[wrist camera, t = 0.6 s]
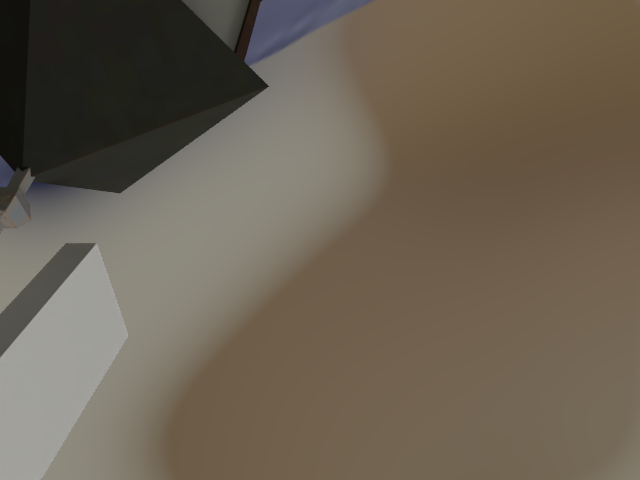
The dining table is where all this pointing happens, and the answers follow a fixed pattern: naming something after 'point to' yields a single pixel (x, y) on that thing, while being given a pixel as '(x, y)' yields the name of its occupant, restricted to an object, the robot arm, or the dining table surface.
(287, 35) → the dining table surface
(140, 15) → the miniature building
